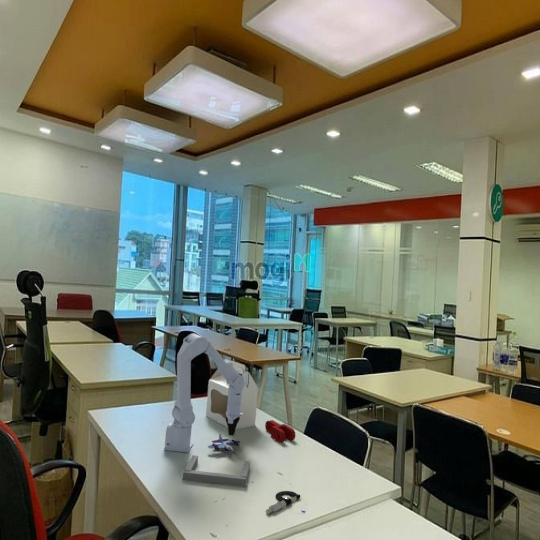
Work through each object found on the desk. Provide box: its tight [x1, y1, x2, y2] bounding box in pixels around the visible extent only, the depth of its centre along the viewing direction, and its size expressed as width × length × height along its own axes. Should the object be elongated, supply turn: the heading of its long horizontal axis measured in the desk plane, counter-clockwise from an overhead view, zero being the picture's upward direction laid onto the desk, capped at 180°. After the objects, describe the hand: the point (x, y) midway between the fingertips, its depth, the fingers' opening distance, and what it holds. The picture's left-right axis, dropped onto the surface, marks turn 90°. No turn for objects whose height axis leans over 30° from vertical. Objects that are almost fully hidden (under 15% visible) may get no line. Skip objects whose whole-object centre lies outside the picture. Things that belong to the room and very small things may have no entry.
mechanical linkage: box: [264, 419, 296, 444], centre depth 177 cm, size 16×7×5 cm, turn 35°
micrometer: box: [265, 490, 301, 515], centre depth 124 cm, size 15×7×2 cm, turn 135°
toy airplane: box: [207, 433, 241, 458], centre depth 156 cm, size 13×14×4 cm
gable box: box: [205, 358, 259, 431], centre depth 191 cm, size 22×13×28 cm, turn 43°
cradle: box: [182, 455, 251, 488], centre depth 138 cm, size 21×13×2 cm, turn 87°
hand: (231, 434), depth 168 cm, fingers closed
